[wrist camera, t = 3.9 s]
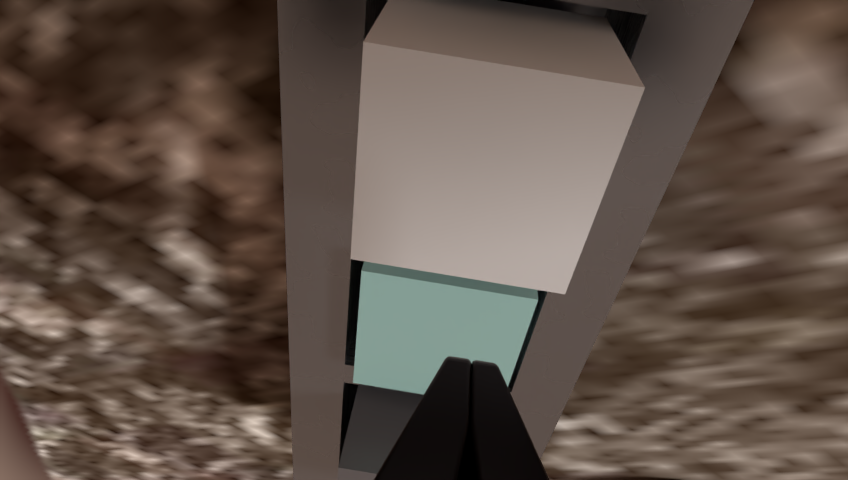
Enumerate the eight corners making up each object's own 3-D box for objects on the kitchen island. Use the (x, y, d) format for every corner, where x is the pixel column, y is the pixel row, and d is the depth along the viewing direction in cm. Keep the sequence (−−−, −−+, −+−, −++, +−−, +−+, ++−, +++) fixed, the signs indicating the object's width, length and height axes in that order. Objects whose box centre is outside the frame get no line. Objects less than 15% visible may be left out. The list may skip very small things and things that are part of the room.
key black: (489, 386, 22) (488, 492, 18) (467, 456, 25) (462, 558, 21) (363, 365, 22) (338, 467, 18) (356, 438, 25) (334, 537, 21)
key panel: (889, -529, 10) (1077, -696, 7) (511, 437, 28) (513, 516, 25) (329, -615, 10) (249, -822, 7) (316, 405, 28) (293, 479, 25)
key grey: (606, 18, 13) (645, 87, 10) (550, 194, 16) (565, 294, 13) (397, -16, 13) (362, 41, 10) (381, 166, 16) (350, 259, 13)
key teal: (530, 213, 19) (538, 300, 15) (500, 315, 22) (500, 407, 19) (385, 189, 19) (361, 270, 16) (375, 295, 22) (353, 382, 19)
